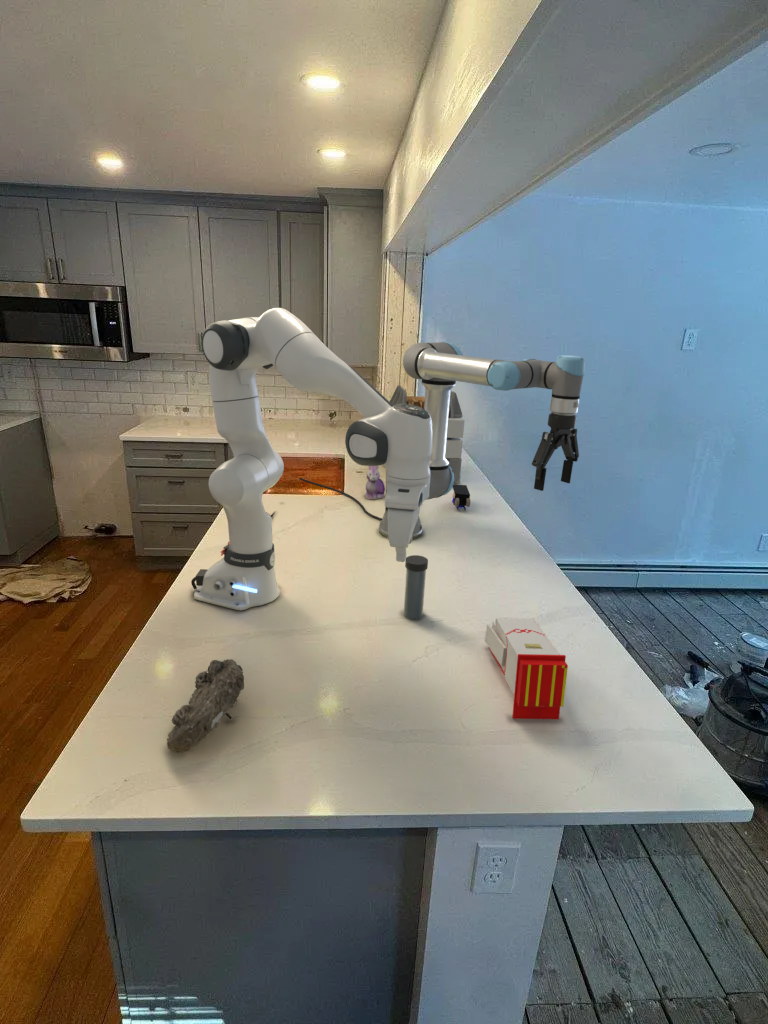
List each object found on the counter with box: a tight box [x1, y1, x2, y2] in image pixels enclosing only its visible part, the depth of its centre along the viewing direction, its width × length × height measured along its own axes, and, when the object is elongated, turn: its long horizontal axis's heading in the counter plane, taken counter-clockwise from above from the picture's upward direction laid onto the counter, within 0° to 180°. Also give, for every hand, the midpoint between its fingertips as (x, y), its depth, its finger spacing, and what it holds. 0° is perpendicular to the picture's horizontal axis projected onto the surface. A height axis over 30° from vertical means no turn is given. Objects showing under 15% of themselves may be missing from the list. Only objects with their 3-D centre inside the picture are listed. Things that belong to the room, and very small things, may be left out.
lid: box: [404, 554, 429, 572], centre depth 143 cm, size 6×6×2 cm
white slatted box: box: [388, 384, 465, 484], centre depth 268 cm, size 34×33×41 cm
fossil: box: [166, 658, 245, 754], centre depth 106 cm, size 22×10×15 cm
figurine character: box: [451, 483, 471, 512], centre depth 229 cm, size 7×8×15 cm
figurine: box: [364, 465, 386, 500], centre depth 235 cm, size 9×10×15 cm
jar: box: [403, 567, 427, 620], centre depth 145 cm, size 5×5×15 cm
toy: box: [484, 617, 569, 720], centre depth 122 cm, size 12×13×30 cm
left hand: (404, 551), depth 118 cm, fingers open, 8 cm apart
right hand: (552, 485), depth 166 cm, fingers open, 13 cm apart
